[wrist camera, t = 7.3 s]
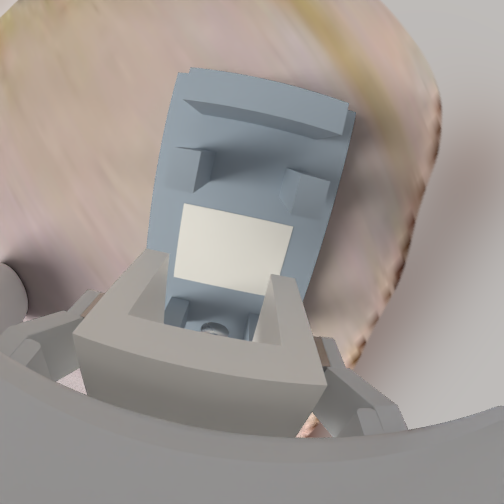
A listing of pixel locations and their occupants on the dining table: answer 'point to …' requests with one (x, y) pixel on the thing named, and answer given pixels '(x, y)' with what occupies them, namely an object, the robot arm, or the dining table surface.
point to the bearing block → (242, 193)
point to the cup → (11, 298)
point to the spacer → (200, 359)
